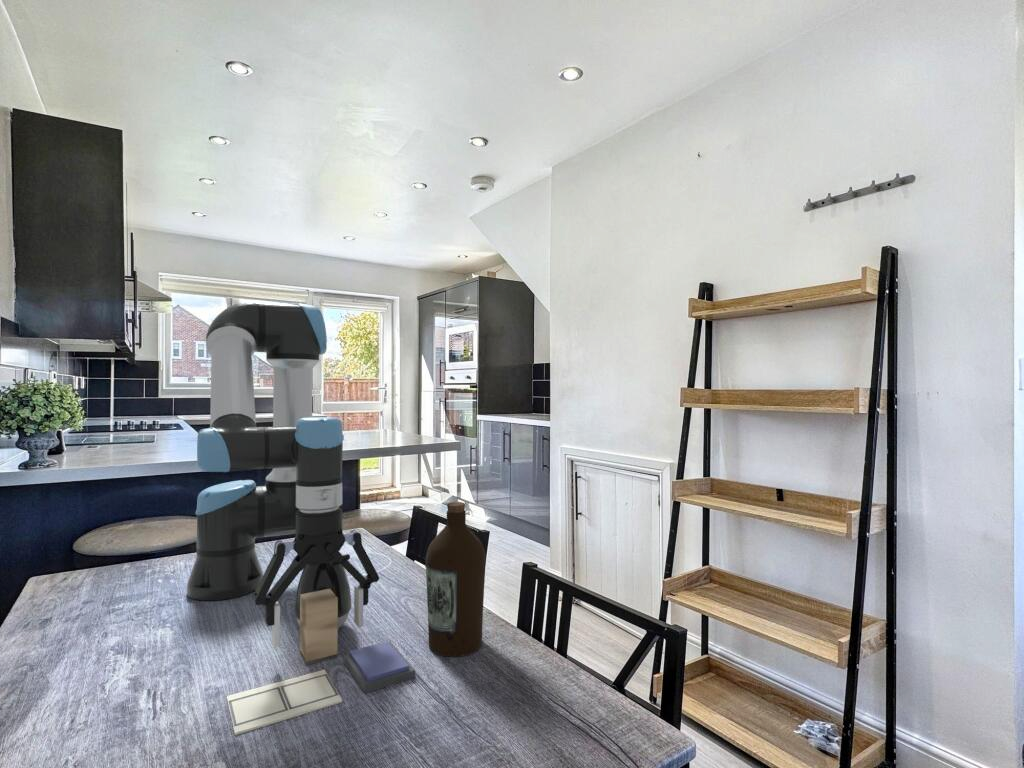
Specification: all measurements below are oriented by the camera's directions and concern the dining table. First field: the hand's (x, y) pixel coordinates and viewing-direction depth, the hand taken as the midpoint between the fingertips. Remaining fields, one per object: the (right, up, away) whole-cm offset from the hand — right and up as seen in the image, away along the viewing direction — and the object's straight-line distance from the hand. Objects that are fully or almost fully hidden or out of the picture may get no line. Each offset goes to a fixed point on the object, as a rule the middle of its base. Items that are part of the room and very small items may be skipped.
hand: (318, 633), depth 93 cm
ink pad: (+11, -4, -4) cm, 13 cm away
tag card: (0, -4, -13) cm, 14 cm away
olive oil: (+23, -4, +4) cm, 23 cm away
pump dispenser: (-3, -4, +10) cm, 11 cm away
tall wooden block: (0, -4, 0) cm, 4 cm away
